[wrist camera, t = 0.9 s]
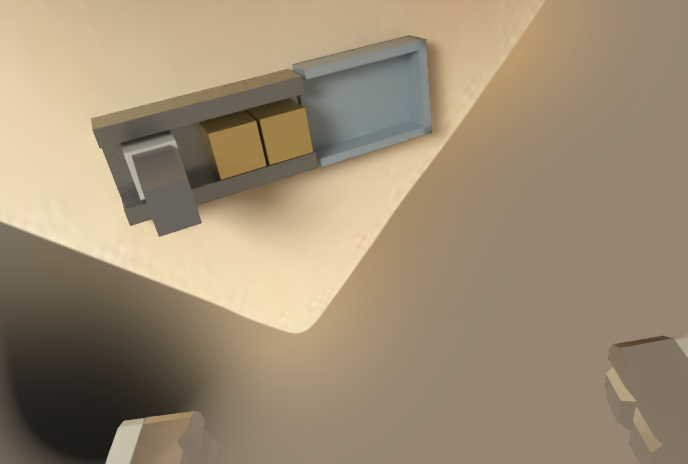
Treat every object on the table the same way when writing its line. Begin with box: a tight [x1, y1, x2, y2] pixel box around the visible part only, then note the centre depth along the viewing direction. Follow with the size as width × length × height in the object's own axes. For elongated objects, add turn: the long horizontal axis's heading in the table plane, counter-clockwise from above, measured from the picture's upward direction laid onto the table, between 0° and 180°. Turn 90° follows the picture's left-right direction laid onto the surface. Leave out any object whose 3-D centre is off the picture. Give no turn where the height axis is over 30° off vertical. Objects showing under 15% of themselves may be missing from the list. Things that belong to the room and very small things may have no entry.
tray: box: [293, 35, 432, 167], centre depth 52 cm, size 9×12×3 cm
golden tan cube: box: [199, 110, 266, 180], centre depth 46 cm, size 4×4×4 cm
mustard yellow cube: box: [247, 98, 313, 165], centre depth 48 cm, size 4×4×4 cm
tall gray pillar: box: [121, 130, 202, 237], centre depth 42 cm, size 4×4×11 cm
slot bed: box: [91, 69, 318, 226], centre depth 47 cm, size 8×17×4 cm, turn 98°
